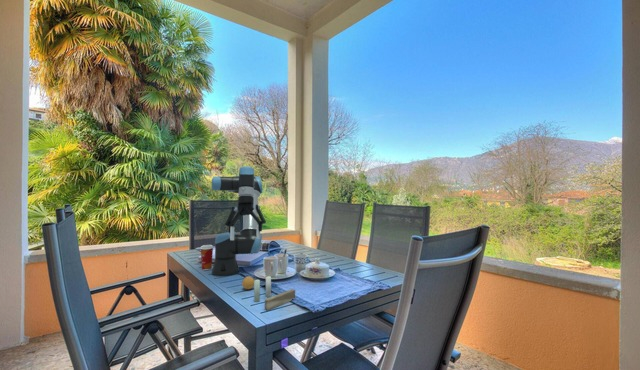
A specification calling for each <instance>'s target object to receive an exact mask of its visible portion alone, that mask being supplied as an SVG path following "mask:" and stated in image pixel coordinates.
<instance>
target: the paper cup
mask: <svg viewBox="0 0 640 370" xmlns="http://www.w3.org/2000/svg"><path fill="white" fill-rule="evenodd" d="M199 249H200V261H201V262H200V263H201V270H203V269H208V270H212V268H213V252H214V246H213V245H212V244H203V245H201V246H200V247H199Z"/></svg>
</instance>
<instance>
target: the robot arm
mask: <svg viewBox="0 0 640 370" xmlns="http://www.w3.org/2000/svg"><path fill="white" fill-rule="evenodd" d="M238 171H239V172H238V175H237V176H219V175H218V176H213V177H212V178H211V188H212V190H213V191H217V192H218V191H226V192H229V193H232V194H238V198H237V199H238V200H237V202H238V203H237V205H238V206H232V207H231V211H230V213H229V215H228V217H227V219H226V222H225V223H224V224H225V225H224V226H227V227H228V231H227V232H223V233H219V234H217V235H216V236H215V238H214V239H215V241H214V244H215V245H214V247H215V248H214V250H215V251H214V252H215V253H214V262H213V264H212V268H211V275H213V276H216V277H227V276H232V275H236V274H238V273H239V272H238V271H240V270H239V269H240V267H239V263H238V260H237V256H236V255H252V254H253V255H254V254H258V253H259V252H260V251H261V248H262V239H263V234H262V233H261V232H262V231H263V225H264V224H266V223H267V222H266V219H265V217H264V215H263V212H262V211H261V207H260V205H259V200H258V199H259V198H260V197H261V194H262V193H263V183H262V178H261V177H260V176H255V168H253V166H247V165H246V166H241V167H240V168H239V170H238ZM242 216H243V218H242V219H243V222H242V229H241V230H240V232H239V233H238V234H237V233H236V231H235V225H236V223H237V222H238V221H239V220H240V218H241V217H242Z"/></svg>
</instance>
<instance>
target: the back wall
mask: <svg viewBox="0 0 640 370" xmlns="http://www.w3.org/2000/svg"><path fill="white" fill-rule="evenodd" d="M293 298H295V299H296V289H293V288H291V289H289V290H286V291H284V292H281V293H278V294H276V295H273V296H271V297H269V298H265V299H264V310H265V311H271V310H273V309H276V308H277V307H280V306H282V305H284V304H286V303H289V302H291V299H293Z"/></svg>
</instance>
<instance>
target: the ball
mask: <svg viewBox="0 0 640 370" xmlns="http://www.w3.org/2000/svg"><path fill="white" fill-rule="evenodd" d="M254 280H255V279H254V277H252V276H246V277H244V279H243V280H242V282H241V283H242V284H241V285H242V287H243V289H244V290H251V289H254Z"/></svg>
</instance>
